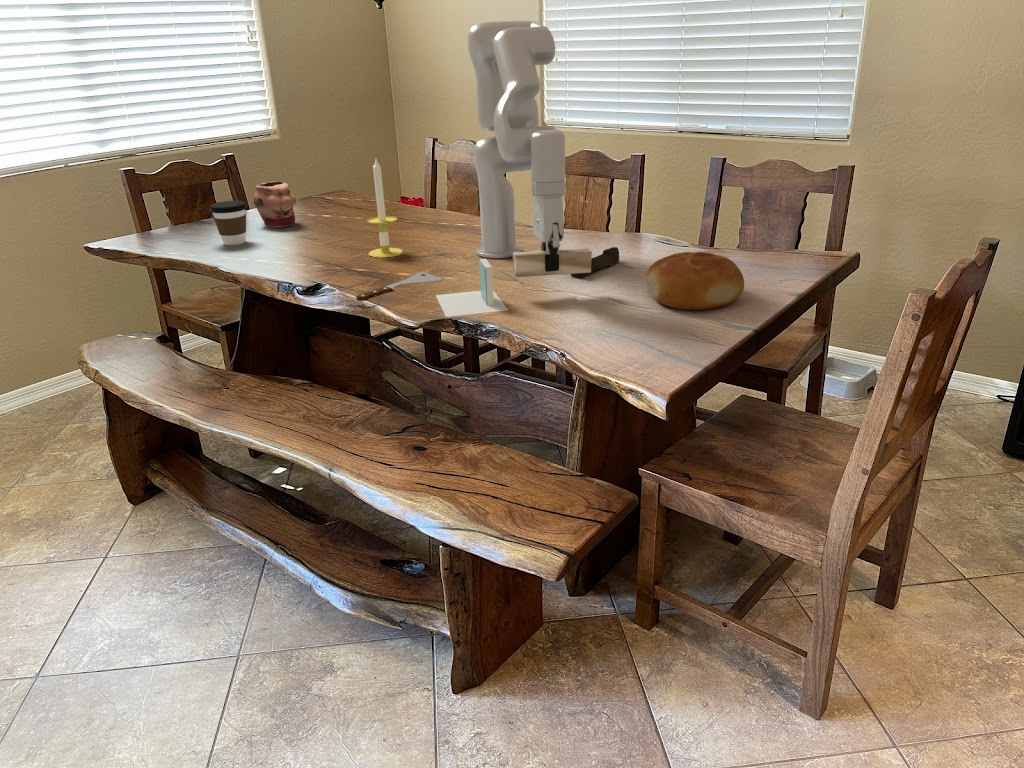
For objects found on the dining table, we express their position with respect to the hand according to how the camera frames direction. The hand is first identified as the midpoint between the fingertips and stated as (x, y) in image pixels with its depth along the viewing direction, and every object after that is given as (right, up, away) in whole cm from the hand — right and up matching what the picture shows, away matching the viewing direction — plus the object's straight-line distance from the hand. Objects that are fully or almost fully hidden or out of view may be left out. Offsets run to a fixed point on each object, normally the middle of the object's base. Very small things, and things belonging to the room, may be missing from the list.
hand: (550, 268), depth 181 cm
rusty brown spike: (+13, +3, +23) cm, 26 cm away
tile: (-15, -8, 0) cm, 16 cm away
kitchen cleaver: (-36, -4, +13) cm, 39 cm away
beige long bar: (0, -1, +1) cm, 1 cm away
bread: (+33, -7, 0) cm, 34 cm away
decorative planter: (-88, +27, +82) cm, 123 cm away
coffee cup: (-95, +17, +61) cm, 114 cm away
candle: (-45, +11, +44) cm, 64 cm away
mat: (-18, -9, -1) cm, 20 cm away
